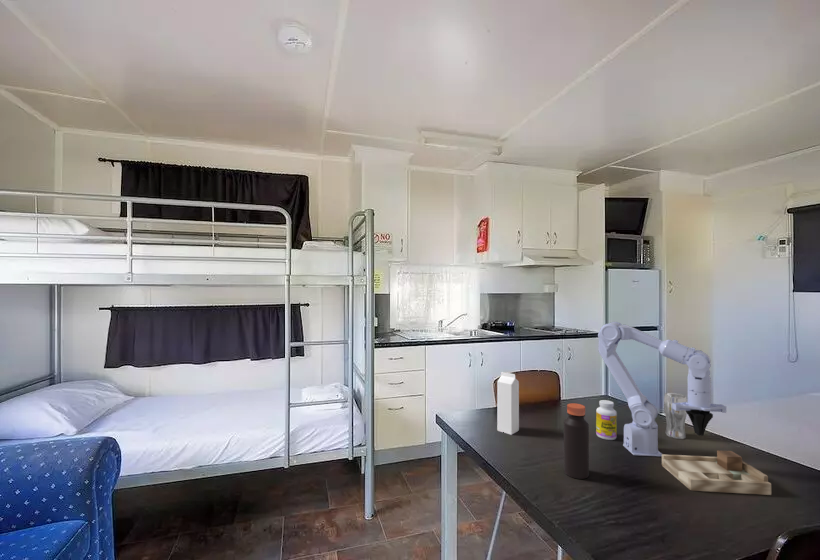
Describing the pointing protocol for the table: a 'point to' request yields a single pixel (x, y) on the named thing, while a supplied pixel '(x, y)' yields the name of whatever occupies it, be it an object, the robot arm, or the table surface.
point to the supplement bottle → (606, 420)
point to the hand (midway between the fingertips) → (699, 434)
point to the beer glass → (675, 416)
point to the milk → (507, 403)
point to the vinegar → (576, 442)
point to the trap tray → (715, 475)
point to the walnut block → (729, 460)
